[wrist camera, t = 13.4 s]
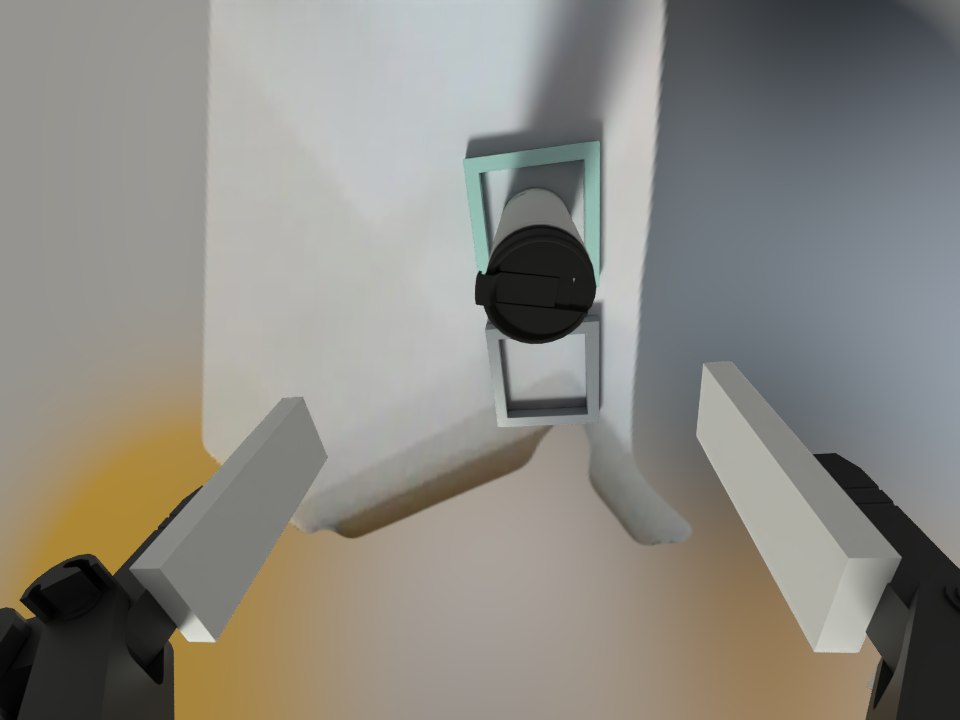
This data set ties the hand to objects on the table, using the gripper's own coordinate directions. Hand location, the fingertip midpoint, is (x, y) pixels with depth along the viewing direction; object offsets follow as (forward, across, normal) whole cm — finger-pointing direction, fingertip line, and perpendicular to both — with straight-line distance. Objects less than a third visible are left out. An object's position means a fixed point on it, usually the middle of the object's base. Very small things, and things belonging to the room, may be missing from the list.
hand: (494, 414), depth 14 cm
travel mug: (+30, +2, 0) cm, 30 cm away
